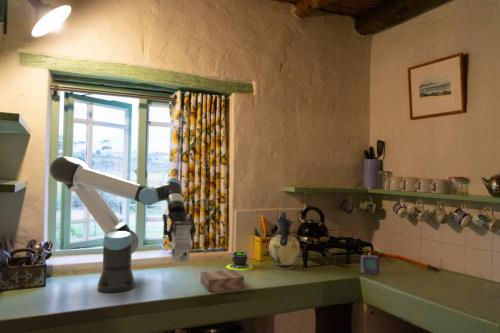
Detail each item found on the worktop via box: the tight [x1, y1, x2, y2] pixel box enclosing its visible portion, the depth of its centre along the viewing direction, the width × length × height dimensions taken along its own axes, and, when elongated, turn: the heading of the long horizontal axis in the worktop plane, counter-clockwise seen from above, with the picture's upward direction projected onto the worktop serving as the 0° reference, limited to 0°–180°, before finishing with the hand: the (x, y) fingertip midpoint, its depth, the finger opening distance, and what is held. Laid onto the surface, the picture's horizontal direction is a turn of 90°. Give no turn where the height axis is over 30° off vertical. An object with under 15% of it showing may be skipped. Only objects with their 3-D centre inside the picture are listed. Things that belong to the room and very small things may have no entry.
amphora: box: [268, 211, 301, 270], centre depth 196 cm, size 18×17×30 cm
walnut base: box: [200, 269, 245, 293], centre depth 159 cm, size 16×14×5 cm
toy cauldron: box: [225, 251, 254, 271], centre depth 195 cm, size 15×15×11 cm
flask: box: [360, 252, 380, 275], centre depth 186 cm, size 9×3×11 cm, turn 79°
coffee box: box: [171, 220, 191, 263], centre depth 153 cm, size 9×6×16 cm
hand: (182, 246), depth 149 cm, fingers closed on coffee box, 6 cm apart
